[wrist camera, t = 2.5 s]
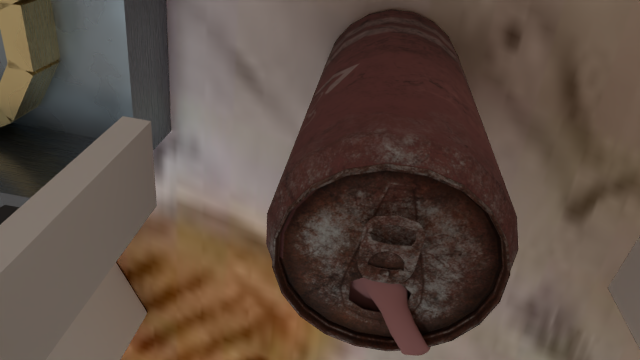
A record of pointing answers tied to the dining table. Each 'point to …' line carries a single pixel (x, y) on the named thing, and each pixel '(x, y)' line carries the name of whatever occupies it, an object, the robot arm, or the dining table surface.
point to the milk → (103, 322)
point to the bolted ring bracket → (75, 82)
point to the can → (392, 195)
